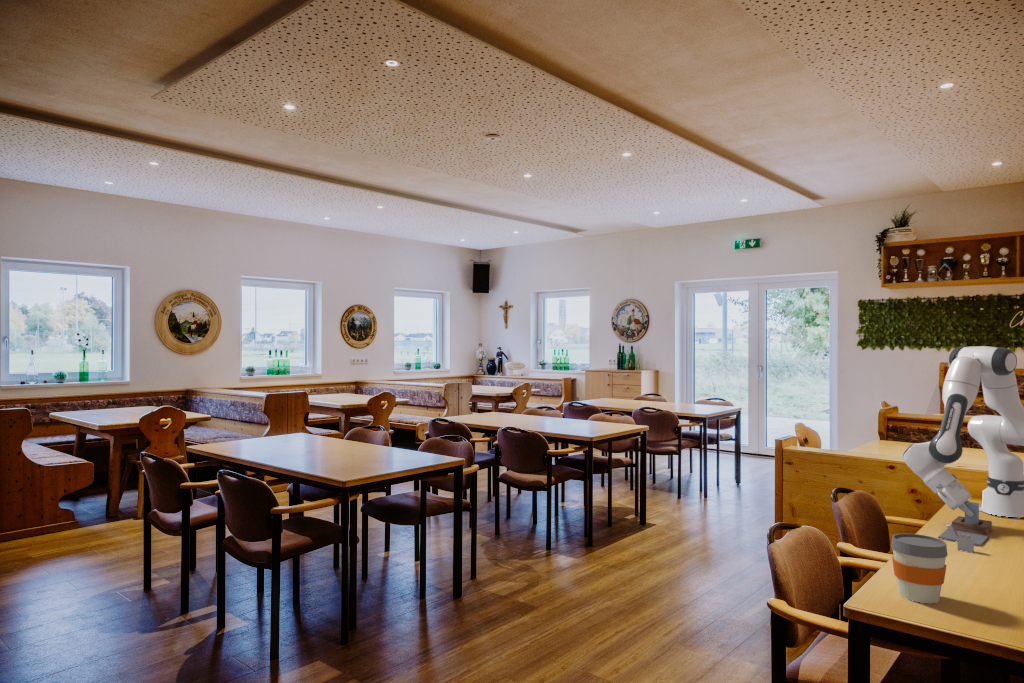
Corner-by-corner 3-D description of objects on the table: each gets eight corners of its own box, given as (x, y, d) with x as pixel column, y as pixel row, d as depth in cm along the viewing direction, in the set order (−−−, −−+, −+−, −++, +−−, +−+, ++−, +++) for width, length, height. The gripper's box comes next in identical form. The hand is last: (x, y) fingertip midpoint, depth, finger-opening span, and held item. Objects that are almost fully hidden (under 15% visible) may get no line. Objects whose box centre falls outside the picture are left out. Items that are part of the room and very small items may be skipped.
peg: (966, 526, 233) (966, 501, 233) (978, 528, 231) (978, 503, 231) (964, 528, 231) (964, 503, 231) (976, 530, 228) (976, 505, 228)
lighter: (973, 551, 205) (973, 527, 206) (972, 553, 204) (972, 528, 204) (947, 546, 210) (947, 522, 211) (946, 548, 209) (946, 523, 209)
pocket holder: (958, 524, 238) (958, 516, 238) (991, 529, 231) (991, 521, 231) (951, 530, 230) (951, 522, 230) (985, 536, 223) (985, 527, 223)
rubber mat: (947, 530, 230) (947, 528, 230) (988, 537, 221) (988, 536, 221) (938, 538, 220) (938, 536, 220) (980, 546, 211) (980, 544, 211)
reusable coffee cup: (895, 584, 176) (895, 530, 176) (950, 596, 168) (950, 539, 168) (887, 598, 166) (887, 540, 167) (944, 611, 158) (944, 550, 159)
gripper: (942, 481, 228) (975, 514, 221) (955, 474, 243) (986, 504, 236) (927, 492, 232) (960, 524, 225) (941, 483, 246) (972, 514, 239)
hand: (974, 514), depth 230 cm, fingers closed on peg, 4 cm apart
